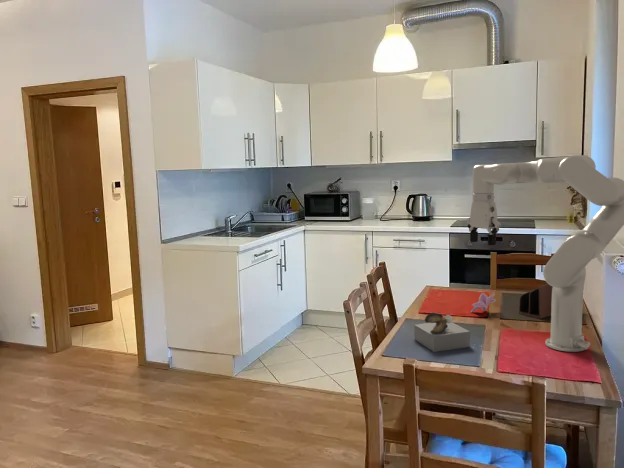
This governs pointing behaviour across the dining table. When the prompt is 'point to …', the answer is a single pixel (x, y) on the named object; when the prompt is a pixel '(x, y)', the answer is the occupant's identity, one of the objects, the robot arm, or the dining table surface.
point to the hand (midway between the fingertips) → (482, 243)
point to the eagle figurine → (438, 322)
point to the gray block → (442, 337)
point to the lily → (483, 302)
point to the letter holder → (536, 302)
